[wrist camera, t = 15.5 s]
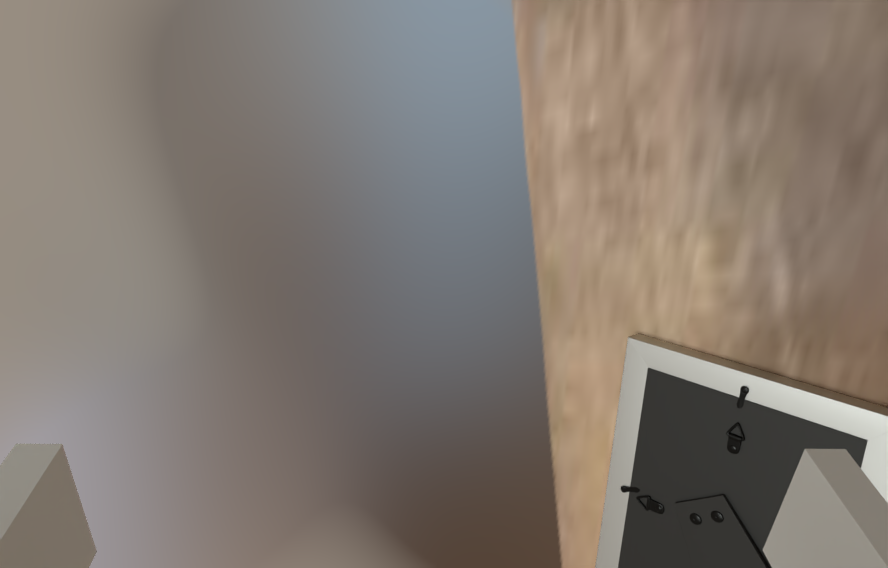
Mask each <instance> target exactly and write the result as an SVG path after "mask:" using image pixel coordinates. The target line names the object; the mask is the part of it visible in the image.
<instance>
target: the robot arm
mask: <svg viewBox="0 0 888 568" xmlns="http://www.w3.org/2000/svg"><path fill="white" fill-rule="evenodd" d="M96 552H97V551H96V548H95V545H94V541H93V538H92V535H91V532H90V529H89V526H88V523H87V520H86V516H85V513H84V511H83V507H82V504H81V501H80V498H79V495H78V492H77V489H76V485H75V482H74V479H73V476H72V473H71V470H70V467H69V464H68V460H67V457H66V454H65V451H64V448H63V445H62V444H16V445H15V446H14V448H13V449H12V450H11V452H10V453H9V455H8V456H7V457H6V459H5V460H4V461H3V463H2V464H1V465H0V568H89V566H90V564H91V562H92V560H93V558H94V556H95V554H96ZM763 552H764V554H765V556H766V558H767V560H768V561H769V563H770V565H771V567H772V568H888V503H887V502H886V501H885V499H884V498H883V497H882V495H881V494H880V493H879V492H878V490H877V489H876V488H875V486H874V485H873V484H872V483H871V481H870V480H869V479H868V477H867V476H866V475H865V473H864V472H863V471H862V470H861V468H860V467H859V466H858V464H857V463H856V462H855V461H854V459H853V458H852V457H851V455H850V454H849V453H848V452H847V450H846V449H805V450H804V452H803V454H802V457H801V459H800V462H799V464H798V466H797V469H796V471H795V474H794V476H793V478H792V481H791V483H790V486H789V488H788V490H787V493H786V495H785V498H784V500H783V502H782V505H781V507H780V510H779V512H778V514H777V517H776V519H775V522H774V524H773V526H772V529H771V531H770V534H769V536H768V538H767V541H766V543H765V546H764V548H763Z"/></svg>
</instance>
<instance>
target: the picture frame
mask: <svg viewBox="0 0 888 568" xmlns="http://www.w3.org/2000/svg"><path fill="white" fill-rule="evenodd" d="M805 449H846V450H847V452H848V453H849V454H850V455H851V457H852V458H853V459H854V461H855V462H856V463H857V464H858V466H859V467H860V468H861V470H862V471H863V472H864V473H865V475H866V476H867V477H868V479H869V480H870V481H871V483H872V484H873V485H874V486H875V488H876V489H877V490H878V492H879V493H880V494H881V495H882V497H883V498H884V499H885V501H886V502H887V503H888V408H887V407H884V406H881V405H877V404H874V403H871V402H867V401H864V400H861V399H857V398H854V397H850V396H847V395H844V394H840V393H837V392H834V391H830V390H827V389H824V388H820V387H817V386H813V385H810V384H807V383H803V382H800V381H797V380H793V379H790V378H787V377H783V376H780V375H777V374H773V373H770V372H766V371H763V370H760V369H756V368H753V367H750V366H746V365H743V364H740V363H736V362H733V361H730V360H726V359H723V358H719V357H716V356H713V355H709V354H706V353H703V352H699V351H696V350H693V349H689V348H686V347H683V346H679V345H676V344H673V343H669V342H666V341H662V340H659V339H656V338H652V337H649V336H646V335H642V334H639V333H638V334H635V335H632V336H629V337H628V342H627V349H626V356H625V363H624V370H623V377H622V384H621V391H620V398H619V405H618V412H617V419H616V426H615V433H614V440H613V447H612V454H611V461H610V468H609V475H608V482H607V489H606V496H605V503H604V510H603V517H602V524H601V531H600V538H599V545H598V552H597V559H596V566H595V568H772V567H771V565H770V563H769V561H768V560H767V558H766V556H765V554H764V552H763V548H764V546H765V543H766V541H767V538H768V536H769V534H770V531H771V529H772V526H773V524H774V522H775V519H776V517H777V514H778V512H779V510H780V507H781V505H782V502H783V500H784V498H785V495H786V493H787V490H788V488H789V486H790V483H791V481H792V478H793V476H794V474H795V471H796V469H797V466H798V464H799V462H800V459H801V457H802V454H803V452H804V450H805Z"/></svg>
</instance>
